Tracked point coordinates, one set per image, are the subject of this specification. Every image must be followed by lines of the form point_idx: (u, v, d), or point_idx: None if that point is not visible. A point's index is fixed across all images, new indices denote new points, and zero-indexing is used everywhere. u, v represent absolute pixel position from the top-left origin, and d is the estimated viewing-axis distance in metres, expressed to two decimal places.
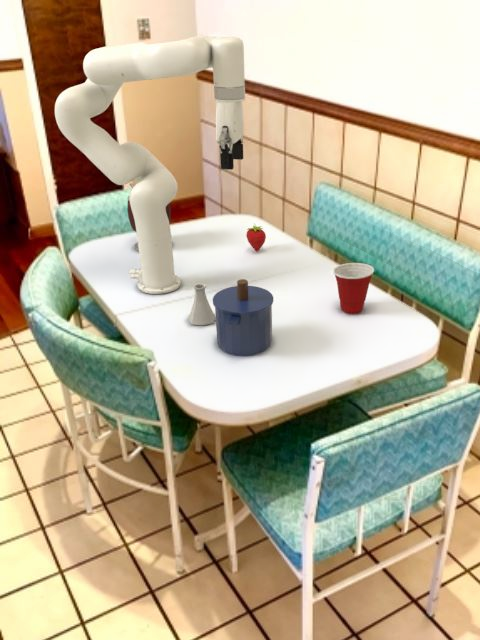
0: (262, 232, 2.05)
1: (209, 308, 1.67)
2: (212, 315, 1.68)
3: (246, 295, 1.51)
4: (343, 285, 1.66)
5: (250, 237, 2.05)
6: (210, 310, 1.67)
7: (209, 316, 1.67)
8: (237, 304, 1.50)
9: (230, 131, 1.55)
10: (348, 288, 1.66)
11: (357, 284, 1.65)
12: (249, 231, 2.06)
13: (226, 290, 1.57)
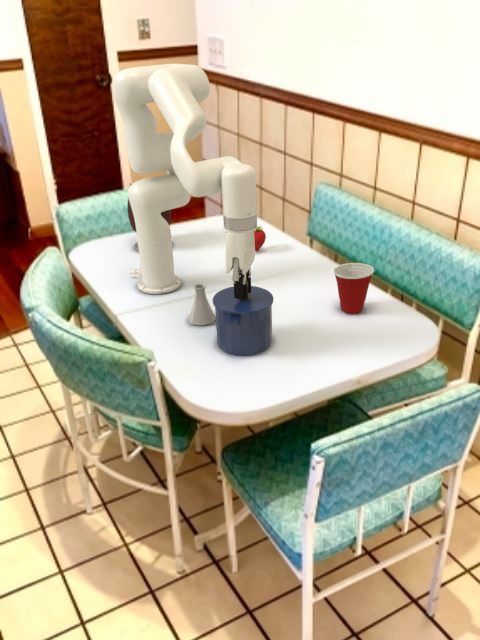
0: (262, 232, 2.05)
1: (209, 308, 1.67)
2: (212, 315, 1.68)
3: None
4: (343, 285, 1.66)
5: None
6: (210, 310, 1.67)
7: (209, 316, 1.67)
8: (237, 304, 1.50)
9: (241, 263, 1.43)
10: (348, 288, 1.66)
11: (357, 284, 1.65)
12: None
13: (226, 290, 1.57)
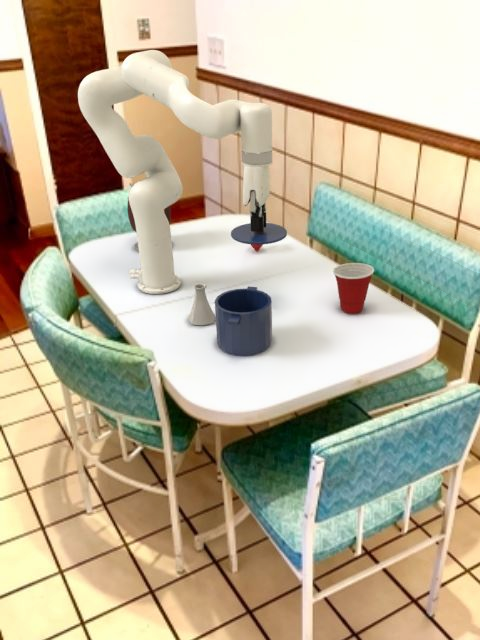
0: None
1: (209, 308, 1.67)
2: (212, 315, 1.68)
3: None
4: (343, 285, 1.66)
5: None
6: (210, 310, 1.67)
7: (209, 316, 1.67)
8: (254, 236, 1.63)
9: (257, 195, 1.55)
10: (348, 288, 1.66)
11: (357, 284, 1.65)
12: None
13: (243, 226, 1.69)
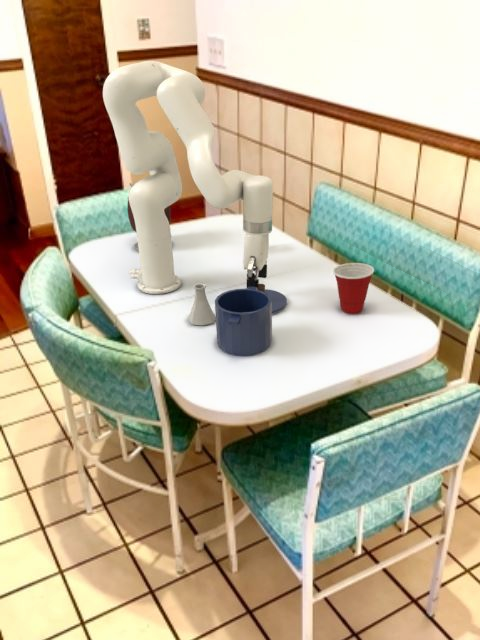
0: None
1: (209, 308, 1.67)
2: (212, 315, 1.68)
3: None
4: (343, 285, 1.66)
5: None
6: (210, 310, 1.67)
7: (209, 316, 1.67)
8: None
9: (257, 261, 1.65)
10: (348, 288, 1.66)
11: (357, 284, 1.65)
12: None
13: None
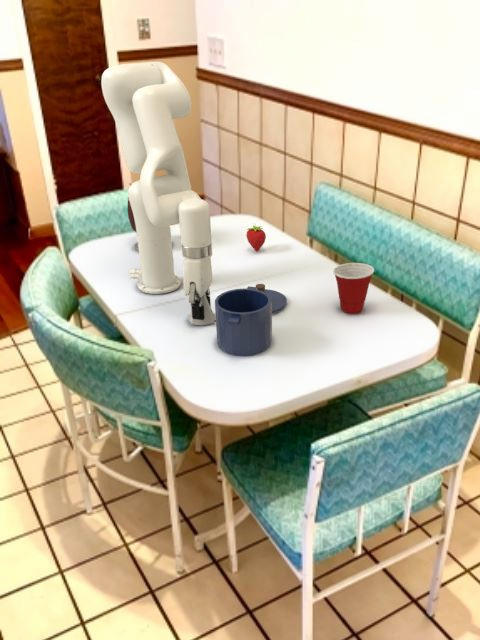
0: (262, 232, 2.05)
1: (209, 308, 1.67)
2: (212, 315, 1.68)
3: None
4: (343, 285, 1.66)
5: (250, 237, 2.05)
6: (210, 310, 1.67)
7: (209, 316, 1.67)
8: None
9: (197, 287, 1.59)
10: (348, 288, 1.66)
11: (357, 284, 1.65)
12: (249, 231, 2.06)
13: None
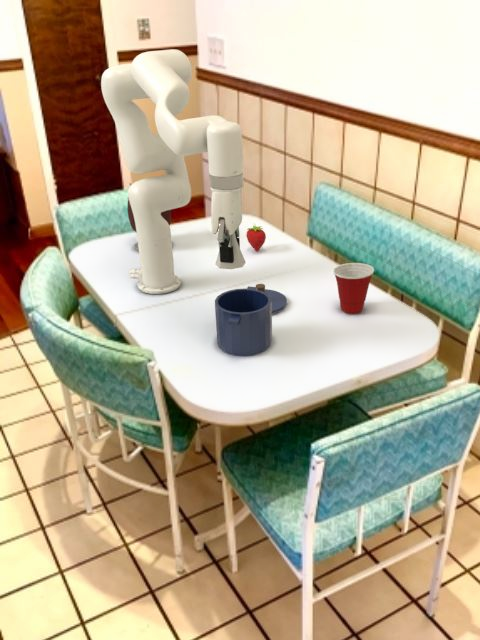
0: (262, 232, 2.05)
1: (239, 250, 1.49)
2: (242, 258, 1.50)
3: None
4: (343, 285, 1.66)
5: (250, 237, 2.05)
6: (240, 253, 1.49)
7: (239, 259, 1.49)
8: None
9: (227, 223, 1.41)
10: (348, 288, 1.66)
11: (357, 284, 1.65)
12: (249, 231, 2.06)
13: None
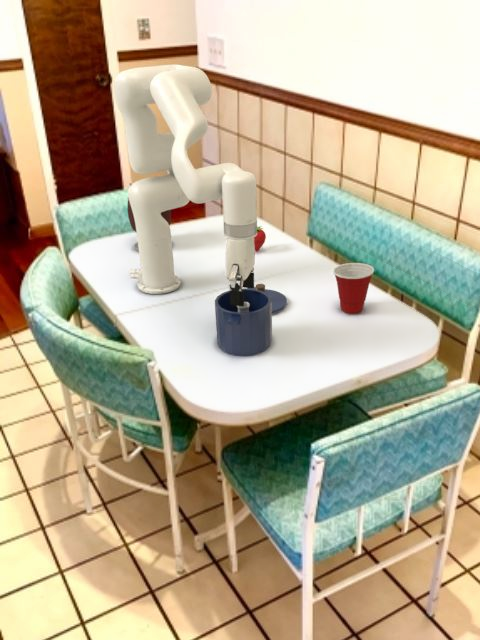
0: (262, 232, 2.05)
1: None
2: None
3: None
4: (343, 285, 1.66)
5: None
6: None
7: None
8: None
9: (241, 269, 1.44)
10: (348, 288, 1.66)
11: (357, 284, 1.65)
12: None
13: None
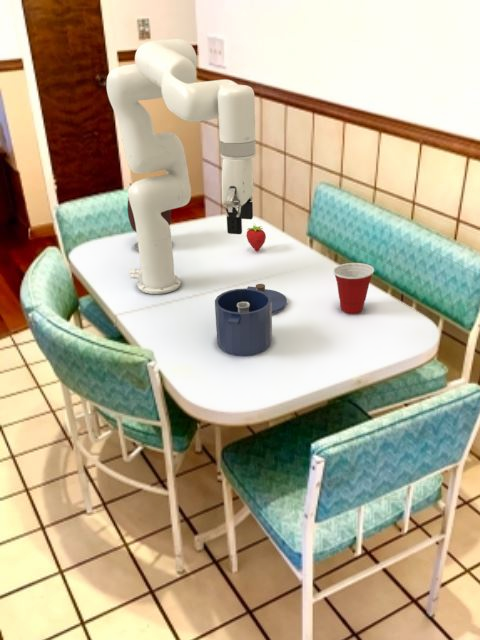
0: (262, 232, 2.05)
1: None
2: None
3: None
4: (343, 285, 1.66)
5: (250, 237, 2.05)
6: None
7: None
8: None
9: (238, 192, 1.34)
10: (348, 288, 1.66)
11: (357, 284, 1.65)
12: (249, 231, 2.06)
13: None
